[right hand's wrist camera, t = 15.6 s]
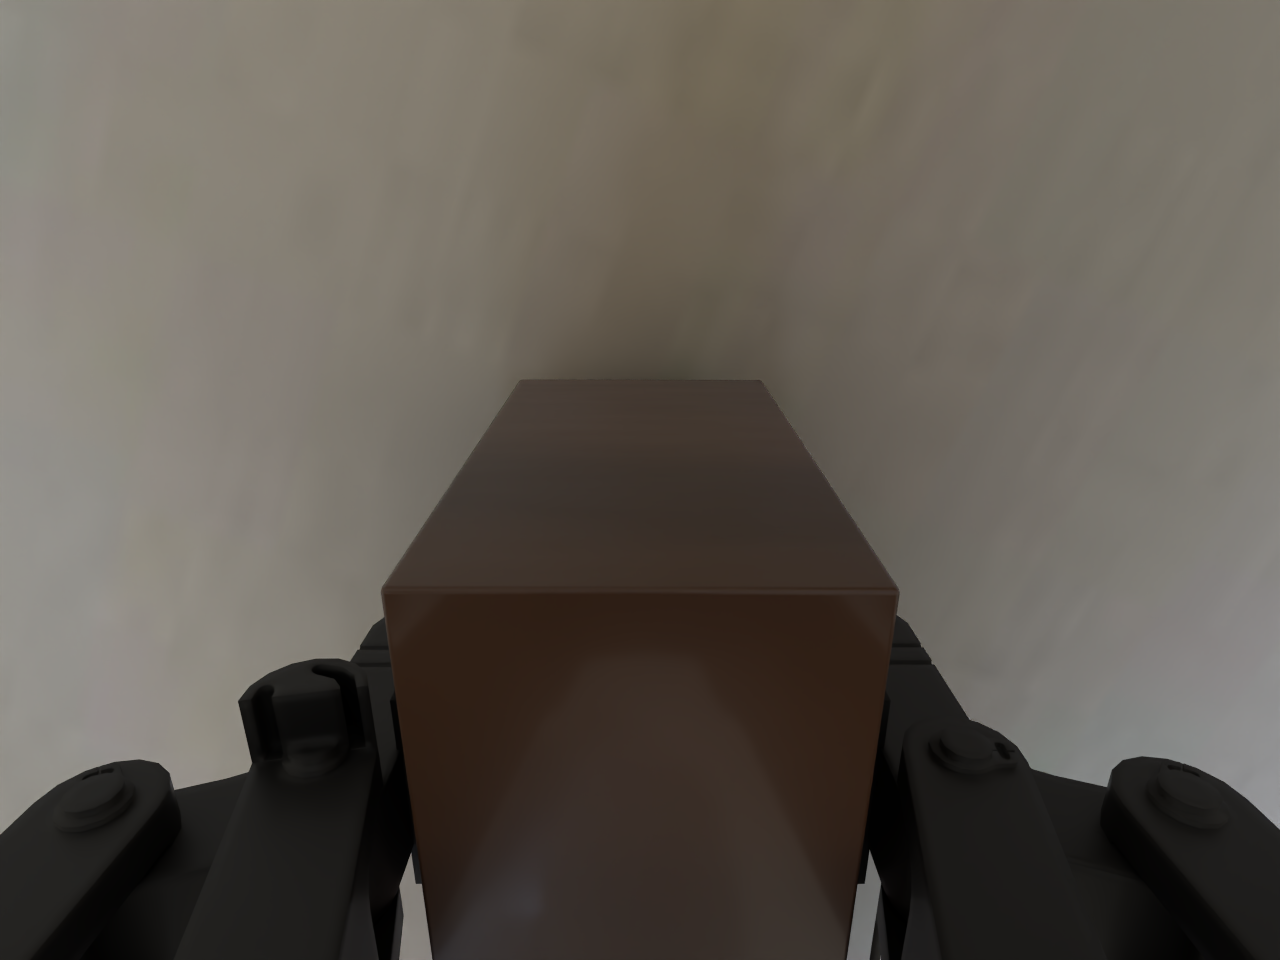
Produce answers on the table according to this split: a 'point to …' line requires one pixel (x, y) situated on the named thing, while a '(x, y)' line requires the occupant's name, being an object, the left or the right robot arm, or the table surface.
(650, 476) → the walnut beam
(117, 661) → the table surface
